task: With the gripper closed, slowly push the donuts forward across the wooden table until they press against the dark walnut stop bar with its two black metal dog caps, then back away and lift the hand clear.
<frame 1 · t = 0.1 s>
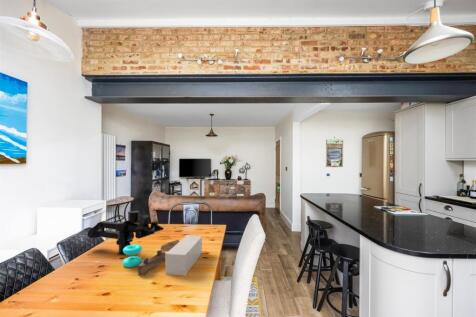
hand: (159, 230, 150), 17 cm above the table, tool horizontal, fingers open, 9 cm apart
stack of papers: (185, 263, 143), on the table
wooden fragment: (170, 246, 172), on the table
donuts: (132, 264, 139), on the table
stop bar: (152, 267, 135), on the table
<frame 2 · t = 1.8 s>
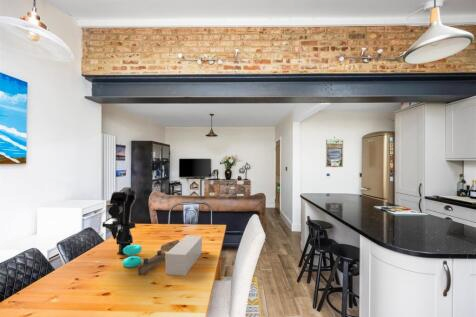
hand: (118, 239, 142), 13 cm above the table, tool pointing down, fingers open, 5 cm apart
nothing on the table moved.
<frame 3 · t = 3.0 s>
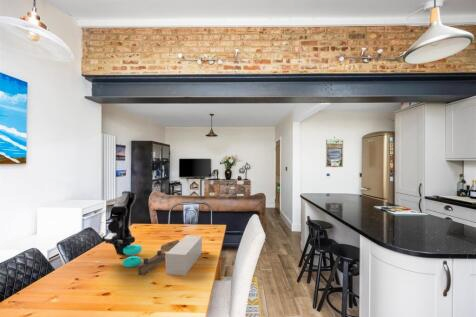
hand: (118, 253, 142), 5 cm above the table, tool pointing down, fingers closed
nothing on the table moved.
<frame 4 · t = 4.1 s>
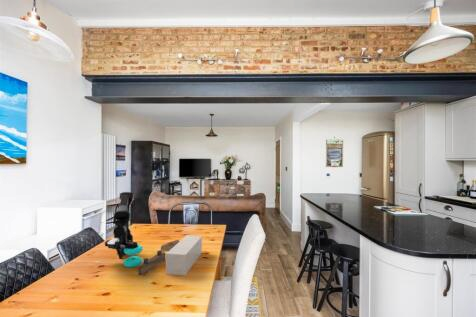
hand: (120, 258, 142), 2 cm above the table, tool pointing down, fingers closed
donuts: (133, 264, 139), on the table, touching gripper
everything else where it was.
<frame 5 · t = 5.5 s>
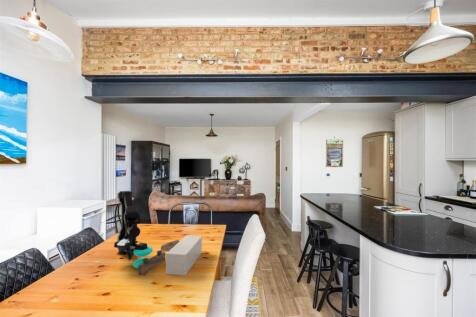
hand: (130, 260, 140), 2 cm above the table, tool pointing down, fingers closed
donuts: (142, 266, 137), on the table, touching gripper, stop bar
everything else where it was.
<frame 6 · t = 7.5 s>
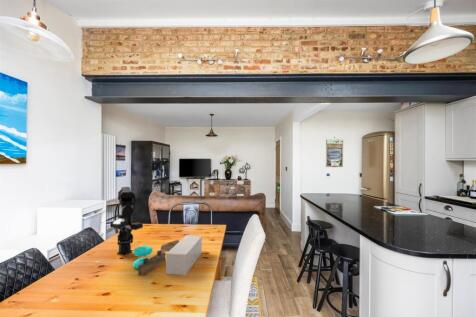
hand: (126, 239, 143), 13 cm above the table, tool pointing down, fingers closed
donuts: (142, 266, 137), on the table
everything else where it was.
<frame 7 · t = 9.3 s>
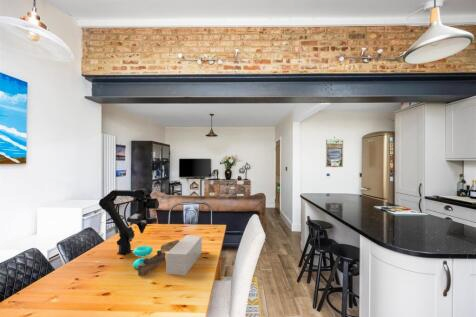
hand: (141, 233, 156), 13 cm above the table, tool pointing down, fingers closed
nothing on the table moved.
at the end: donuts inside the target area (0.8 cm from its centre), on the table; donuts moved 7.0 cm from its start; donuts tilted 0° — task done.
